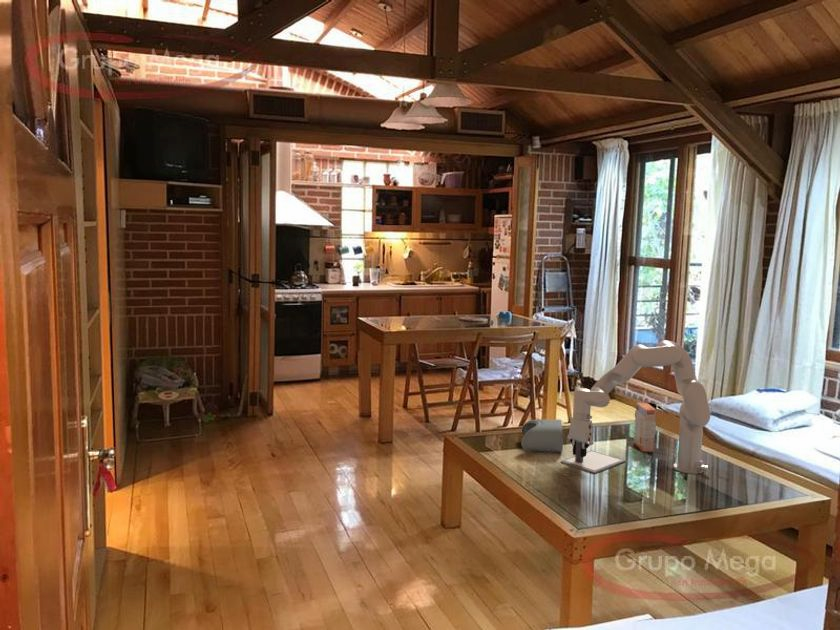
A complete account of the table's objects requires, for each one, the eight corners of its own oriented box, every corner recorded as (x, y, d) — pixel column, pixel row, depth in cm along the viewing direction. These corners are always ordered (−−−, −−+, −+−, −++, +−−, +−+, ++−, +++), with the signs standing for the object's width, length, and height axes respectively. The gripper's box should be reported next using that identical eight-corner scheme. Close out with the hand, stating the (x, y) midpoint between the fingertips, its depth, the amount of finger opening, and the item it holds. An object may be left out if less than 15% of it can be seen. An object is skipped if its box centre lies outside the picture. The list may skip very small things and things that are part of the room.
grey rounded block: (562, 456, 321) (562, 429, 319) (521, 455, 324) (521, 428, 322) (560, 441, 342) (560, 416, 341) (522, 441, 345) (521, 416, 344)
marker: (585, 461, 311) (586, 435, 310) (580, 462, 309) (581, 436, 307) (578, 458, 314) (579, 433, 312) (573, 460, 311) (574, 434, 310)
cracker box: (654, 452, 329) (657, 409, 327) (641, 452, 330) (644, 409, 327) (645, 443, 343) (648, 402, 341) (633, 442, 343) (635, 401, 341)
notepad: (625, 462, 315) (625, 460, 315) (594, 473, 299) (594, 471, 299) (591, 452, 328) (591, 450, 328) (560, 462, 312) (560, 460, 312)
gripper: (602, 418, 305) (599, 458, 307) (571, 410, 317) (569, 449, 320) (592, 421, 300) (590, 462, 302) (561, 413, 312) (559, 452, 315)
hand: (579, 455), depth 311 cm, fingers closed on marker, 3 cm apart
